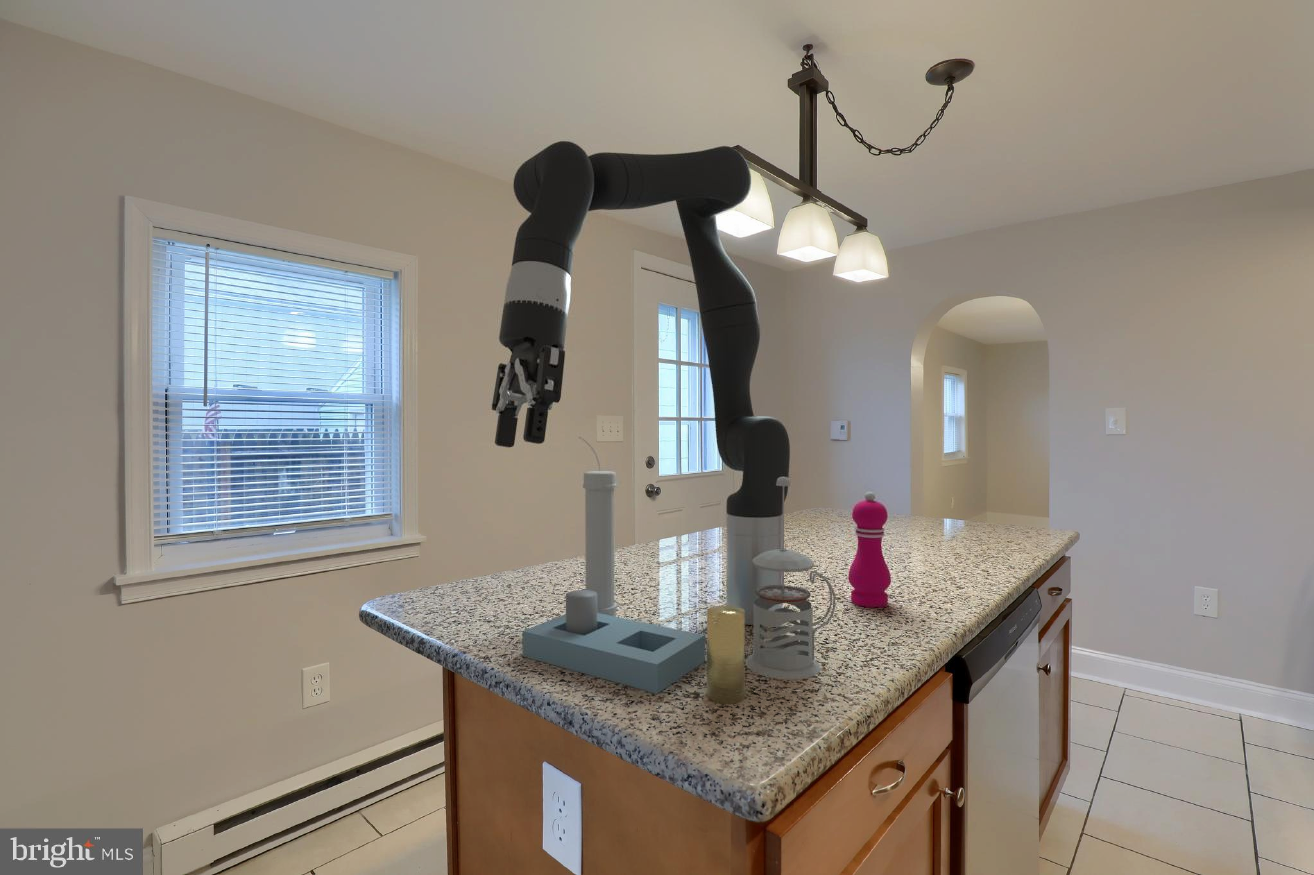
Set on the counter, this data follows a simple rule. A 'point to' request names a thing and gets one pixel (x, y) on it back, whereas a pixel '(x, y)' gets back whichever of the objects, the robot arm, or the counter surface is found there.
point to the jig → (614, 646)
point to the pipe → (600, 536)
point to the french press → (785, 617)
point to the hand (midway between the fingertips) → (517, 444)
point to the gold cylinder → (725, 654)
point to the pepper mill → (869, 555)
